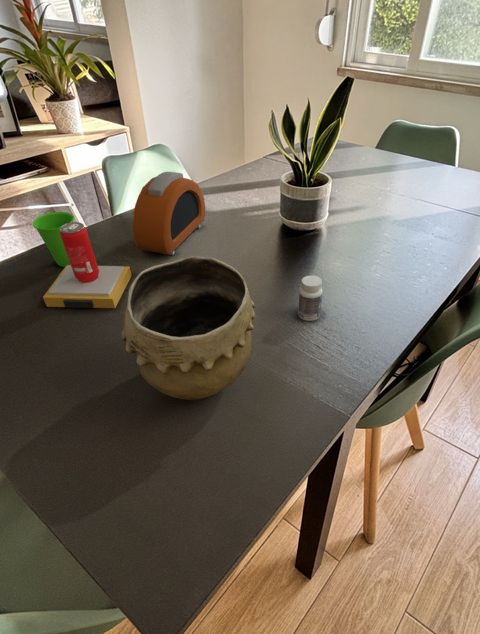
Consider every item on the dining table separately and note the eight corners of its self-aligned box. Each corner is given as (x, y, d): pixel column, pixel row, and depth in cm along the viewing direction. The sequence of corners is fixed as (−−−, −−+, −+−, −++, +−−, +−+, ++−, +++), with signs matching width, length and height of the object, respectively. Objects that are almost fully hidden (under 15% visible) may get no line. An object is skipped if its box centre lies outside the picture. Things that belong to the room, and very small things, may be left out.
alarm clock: (168, 262, 105) (157, 196, 94) (136, 256, 107) (121, 191, 96) (208, 222, 122) (202, 161, 110) (179, 217, 124) (171, 157, 112)
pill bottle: (322, 320, 88) (326, 286, 82) (300, 322, 88) (302, 288, 82) (317, 306, 92) (320, 273, 86) (295, 309, 91) (297, 275, 85)
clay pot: (274, 411, 70) (276, 315, 57) (143, 442, 66) (111, 345, 52) (243, 333, 85) (238, 242, 72) (134, 354, 81) (107, 261, 67)
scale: (45, 308, 91) (40, 296, 89) (69, 274, 102) (65, 262, 99) (114, 310, 91) (110, 298, 89) (131, 275, 101) (129, 264, 99)
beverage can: (71, 281, 94) (52, 230, 86) (86, 269, 97) (70, 219, 89) (90, 286, 92) (73, 235, 84) (105, 273, 96) (90, 223, 88)
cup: (92, 264, 105) (79, 222, 97) (54, 275, 101) (37, 232, 94) (81, 249, 110) (67, 208, 103) (44, 259, 107) (28, 217, 99)
